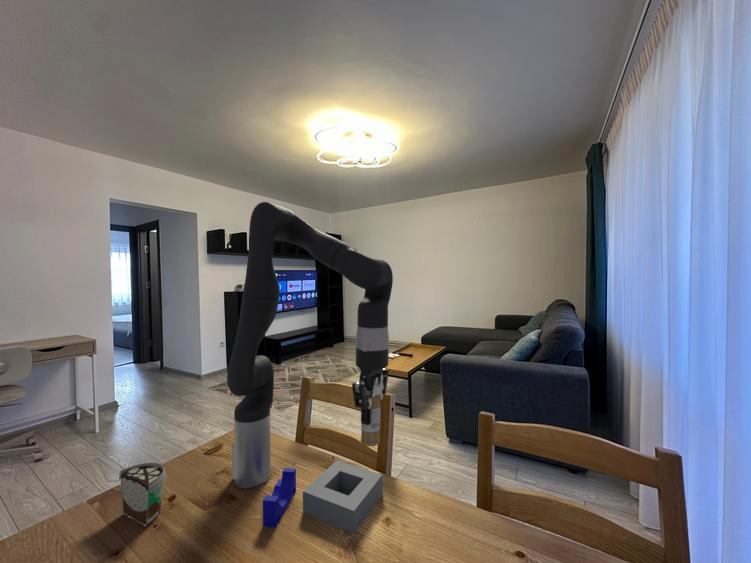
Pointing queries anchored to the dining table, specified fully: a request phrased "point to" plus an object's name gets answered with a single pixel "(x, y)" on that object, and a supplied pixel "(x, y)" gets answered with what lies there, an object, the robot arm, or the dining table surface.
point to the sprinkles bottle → (372, 421)
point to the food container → (142, 491)
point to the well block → (343, 495)
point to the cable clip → (279, 498)
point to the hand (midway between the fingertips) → (371, 419)
